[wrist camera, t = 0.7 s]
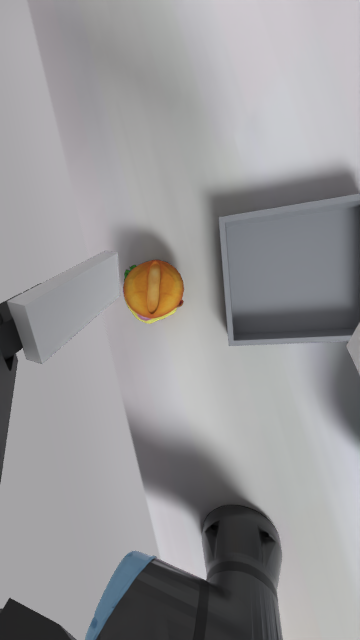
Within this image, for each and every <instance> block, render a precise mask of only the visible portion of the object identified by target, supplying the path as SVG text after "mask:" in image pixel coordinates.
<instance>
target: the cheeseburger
mask: <svg viewBox="0 0 360 640" xmlns="http://www.w3.org/2000/svg"><path fill="white" fill-rule="evenodd" d="M130 270H131V271H129V270H126V271H125V274H124V275H125V279H124V287H123V292H124V297H125V301H126V303H127V305H128V308H129V309H130V311H131V312H132V313H133V315H134V316H135V317H136V318H137V319H138V320H140V321H142V322H145V323H149V324H151V323H153V322H155V321H157V320H160V319H164V318H166V317H167V316H169V315H172V314H173V313H174V312H175V311H176V309H177V307H180V306H182V305H183V300H181V299H182V296H183V292H184V286H183V280H182V278H181V275H180V273H179V272H178V271H177V269H176V268H174V267H173V266H172V265H170V264H169V263H167V262H164V261H161V260H151V261H147V262H145V263H142V264H140V265H138V266H136V265H133V266H131V267H130Z"/></svg>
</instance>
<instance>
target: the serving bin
mask: <svg viewBox="0 0 360 640" xmlns="http://www.w3.org/2000/svg"><path fill="white" fill-rule="evenodd" d="M219 229H220V241H221V254H222V267H223V279H224V292H225V304H226V317H227V330H228V342H229V346H242V345H267V344H291V343H316V342H341V341H349V340H350V338H351V337H352V335H353V333H354V331H355V330H356V328H357V326H358V324H359V323H360V193H359V194H353V195H347V196H341V197H336V198H330V199H324V200H318V201H312V202H306V203H300V204H294V205H288V206H282V207H276V208H270V209H264V210H258V211H252V212H246V213H240V214H234V215H228V216H223V217H219Z"/></svg>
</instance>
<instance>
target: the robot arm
mask: <svg viewBox="0 0 360 640" xmlns="http://www.w3.org/2000/svg"><path fill="white" fill-rule="evenodd" d="M119 296H120V286H119V268H118V253H116V252H111V251H104V252H102V253H100V254H98V255H96V256H94V257H92V258H90V259H88V260H86V261H84V262H82V263H81V264H78V265H76V266H75V267H73V268H71V269H69V270H67V271H65V272H63V273H61V274H59V275H57V276H55V277H53V278H51V279H49V280H47V281H45V282H43V283H40V284H38V285H36V286H34V287H32V288H31V289H28V290H26V291H24V292H23V293H21V294H18V295H16V296H14V297H12V298H10V299H8V300H7V301H5V302H3V303H1V304H0V482H1V475H2V468H3V461H4V454H5V447H6V439H7V433H8V426H9V419H10V412H11V404H12V398H13V391H14V383H15V377H16V370H17V363H18V359H17V356H16V353H17V352H18V351H19V350H21V349H22V348H23V350H24V353H25V356H26V359H27V360H31V361H34V362H37V363H41V364H43V363H44V362H45V361H46V360H47V359H48V358H49V357H51V356H52V355H53V354H54V353H55V352H56V351H58V350H59V349H60V348H61V347H62V346H63V345H64V344H65V343H67V342H68V341H69V340H70V339H71V338H72V337H74V336H75V335H76V334H77V333H78V332H79V331H80V330H82V329H83V328H84V327H85V326H86V325H87V324H88V323H90V322H91V321H92V320H93V319H94V318H95V317H96V316H97V315H99V314H100V313H101V312H102V311H103V310H104V309H106V308H107V307H108V306H109V305H110V304H111V303H112V302H114V301H115V300H116V299H117V298H118V297H119ZM346 347H347V349H348V351H349V353H350V355H351V358H352V360H353V362H354V364H355V366H356V368H357V371H358V373H359V375H360V323H359V324H358V326H357V328H356V330H355V331H354V333H353V335H352V337H351V338H350V340H349V342H348V343H347V345H346ZM202 546H203V552H204V559H205V565H206V572H207V579H206V580H204V579H201V578H199V577H197V576H195V575H193V574H190V573H188V572H186V571H184V570H181V569H179V568H177V567H175V566H172V565H170V564H168V563H166V562H164V561H162V560H159V559H157V557H156V556H149V555H147V554H144V553H141V552H139V551H132V552H130V553H128V554H127V555H126V556H125V557H124V558H123V560H122V561H121V562H120V564H119V565H118V567H117V569H116V570H115V572H114V574H113V575H112V577H111V579H110V581H109V583H108V585H107V587H106V589H105V591H104V593H103V595H102V597H101V600H100V602H99V604H98V606H97V609H96V611H95V616H94V618H93V620H92V622H91V624H90V626H89V629H88V631H87V634H86V637H85V640H283V638H282V630H281V622H280V614H279V606H278V598H277V587H278V581H279V575H280V568H281V562H282V550H281V544H280V538H279V535H278V533H277V531H276V529H275V527H274V526H273V525H272V523H271V522H270V521H269V520H268V519H267V518H265V517H264V516H263V515H261V514H260V513H258V512H256V511H254V510H252V509H249V508H246V507H242V506H234V505H231V506H223V507H220V508H217V509H215V510H214V511H212V512H211V513H210V514H209V515H208V516H207V518H206V520H205V522H204V526H203V533H202ZM0 640H76V639H75V638H74V637H73V636H72V635H71V634H70V633H68V632H67V631H66V630H65V629H64V628H63V627H62V626H60V625H59V624H57V623H56V622H54V621H52V620H50V619H48V618H46V617H44V616H42V615H41V614H39V613H37V612H35V611H33V610H31V609H29V608H28V607H26V606H24V605H22V604H20V603H18V602H16V601H15V600H12V599H11V598H9V600H8V602H7V603H6V605H5V607H4V608H3V609H0Z"/></svg>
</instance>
